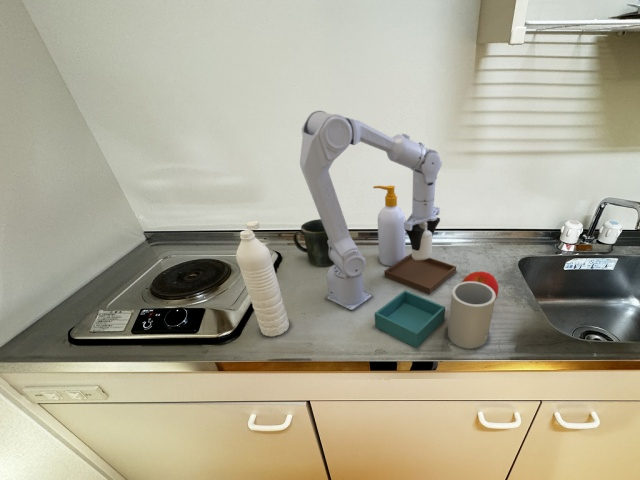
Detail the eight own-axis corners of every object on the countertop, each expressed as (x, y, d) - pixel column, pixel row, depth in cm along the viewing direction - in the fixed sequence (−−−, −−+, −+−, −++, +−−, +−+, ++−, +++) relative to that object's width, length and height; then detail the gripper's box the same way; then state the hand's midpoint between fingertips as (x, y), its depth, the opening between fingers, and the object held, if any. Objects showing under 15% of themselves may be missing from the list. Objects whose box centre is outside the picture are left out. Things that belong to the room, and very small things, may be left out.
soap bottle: (379, 253, 108) (376, 181, 94) (406, 254, 107) (407, 182, 93) (374, 265, 101) (370, 190, 87) (403, 267, 100) (403, 191, 86)
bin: (375, 327, 77) (374, 313, 74) (404, 303, 85) (404, 290, 82) (416, 348, 71) (417, 333, 68) (444, 320, 79) (445, 306, 76)
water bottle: (286, 336, 74) (258, 237, 60) (258, 338, 74) (222, 239, 59) (293, 313, 81) (269, 220, 67) (267, 314, 81) (237, 221, 66)
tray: (384, 276, 96) (384, 270, 94) (413, 257, 106) (413, 252, 104) (429, 294, 88) (429, 288, 87) (455, 272, 98) (456, 266, 96)
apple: (488, 289, 85) (491, 258, 76) (501, 315, 79) (507, 285, 70) (455, 298, 85) (454, 268, 76) (466, 325, 80) (466, 296, 70)
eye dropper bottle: (430, 261, 90) (432, 221, 83) (411, 260, 91) (411, 220, 84) (431, 254, 94) (434, 215, 87) (412, 253, 95) (413, 214, 88)
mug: (339, 268, 100) (334, 232, 93) (293, 267, 100) (285, 232, 93) (344, 252, 109) (340, 218, 102) (302, 252, 109) (295, 218, 102)
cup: (447, 320, 78) (451, 280, 71) (484, 322, 77) (492, 282, 70) (448, 347, 71) (452, 305, 64) (489, 349, 70) (498, 307, 63)
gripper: (420, 209, 76) (418, 259, 84) (450, 194, 85) (446, 240, 93) (397, 203, 79) (397, 252, 87) (428, 189, 88) (426, 234, 96)
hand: (421, 245), depth 90 cm, fingers closed on eye dropper bottle, 5 cm apart
